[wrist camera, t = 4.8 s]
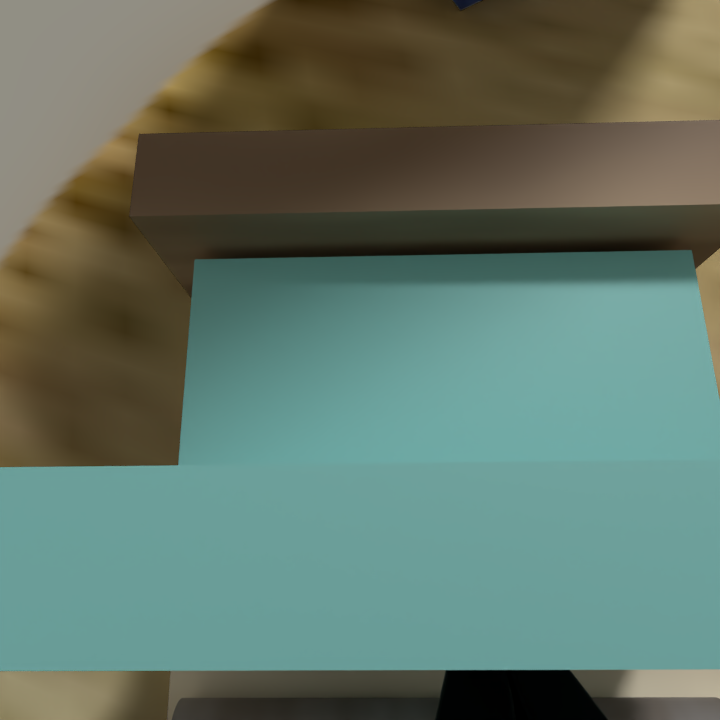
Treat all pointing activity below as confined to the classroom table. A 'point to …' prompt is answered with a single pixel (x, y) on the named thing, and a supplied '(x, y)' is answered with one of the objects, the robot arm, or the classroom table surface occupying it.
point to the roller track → (426, 237)
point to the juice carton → (465, 3)
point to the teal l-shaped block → (398, 479)
